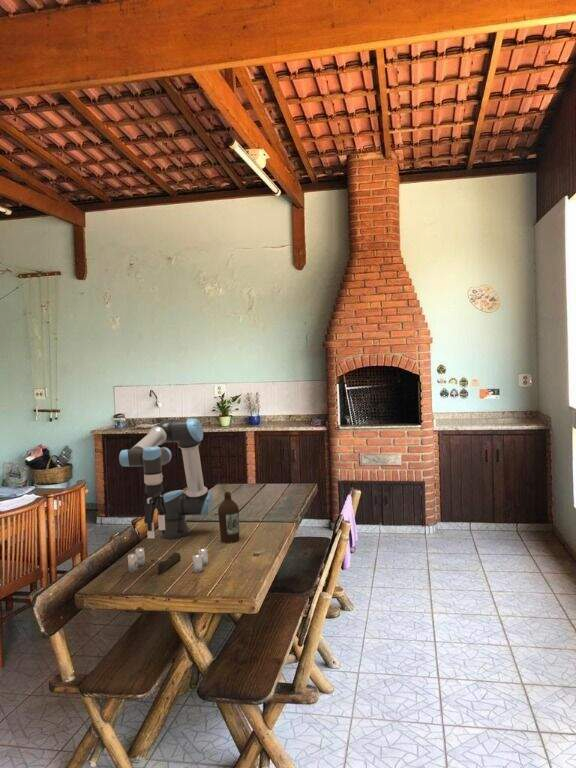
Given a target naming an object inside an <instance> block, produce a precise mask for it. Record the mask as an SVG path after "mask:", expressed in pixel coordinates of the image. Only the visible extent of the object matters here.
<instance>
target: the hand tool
mask: <svg viewBox="0 0 576 768" xmlns="http://www.w3.org/2000/svg"><path fill="white" fill-rule="evenodd" d="M181 557H182V556H181V554H180V553H179V552H174V553H172V555H170V556H169V557H167V559H165V560H162V561H160V562H158V565H157V574H158V576H159V575H162V574H164V573H166V572H167V569H169V568H170V567H172V565H175V563H176V562H180V561H181ZM165 571H166V572H165Z"/></svg>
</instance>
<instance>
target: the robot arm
mask: <svg viewBox="0 0 576 768" xmlns="http://www.w3.org/2000/svg"><path fill="white" fill-rule="evenodd" d="M203 438H204V430H203V425H202V422H201V421H200V420H199V419H198V418H178V419H175V418H174V419H173V418H172V419H166V420H163V421H160V422H159V423H156V424H155V425H153V427H151V428H149V430H148V433H147V434H146V435H145V436H144V437H143V438H142V439H140V440H139V441H138V442H137V443H136V444H134V446H132V447H131V448H130V449H122V450H120V453H119V454H118V455H119V456H118V460H119V464H120V466H121V467H128V468H129V467H143V478H144V479H143V480H144V482H143V483H144V493H145V494H146V495H148V498H145V506H144V517H143V518H144V519H143V523H144V524H146V530H147V532H146V533H147V539H155V526H154V525H155V524H154V517H155V511H157V513H158V515H157V520H158V521H157V522H158V523H157V524H158V531H160V537H161V538H162V539H167V540H168V539H169V540H171V539H180V538H185V537H187V536H189V535H190V527H189V525H188V522H187V519H186V516H207V515H209V514H210V513H211V510H212V506H213V494H212V492H210V491H209V490H208V487H206V486H205V485H204V482H205V481H204V475H203V471H202V470H203V469H202V464H201V457H200V451H199V446H200V445H201V441H203ZM164 443H177V448H179V449H181V454H182V461H183V468H184V473H185V480H186V485H187V489H186V490H185V491H184V490H183V489H177V490H172V491H168V492H165V493H164V485H163V478H164V475H163V469H162V467H163V466H165V465H167V464H168V463H170V461H172V460H171V459H172V451H171V450H170V449H169V448H168V447H165V446H163V447H160V446H161V445H163V444H164Z"/></svg>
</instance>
